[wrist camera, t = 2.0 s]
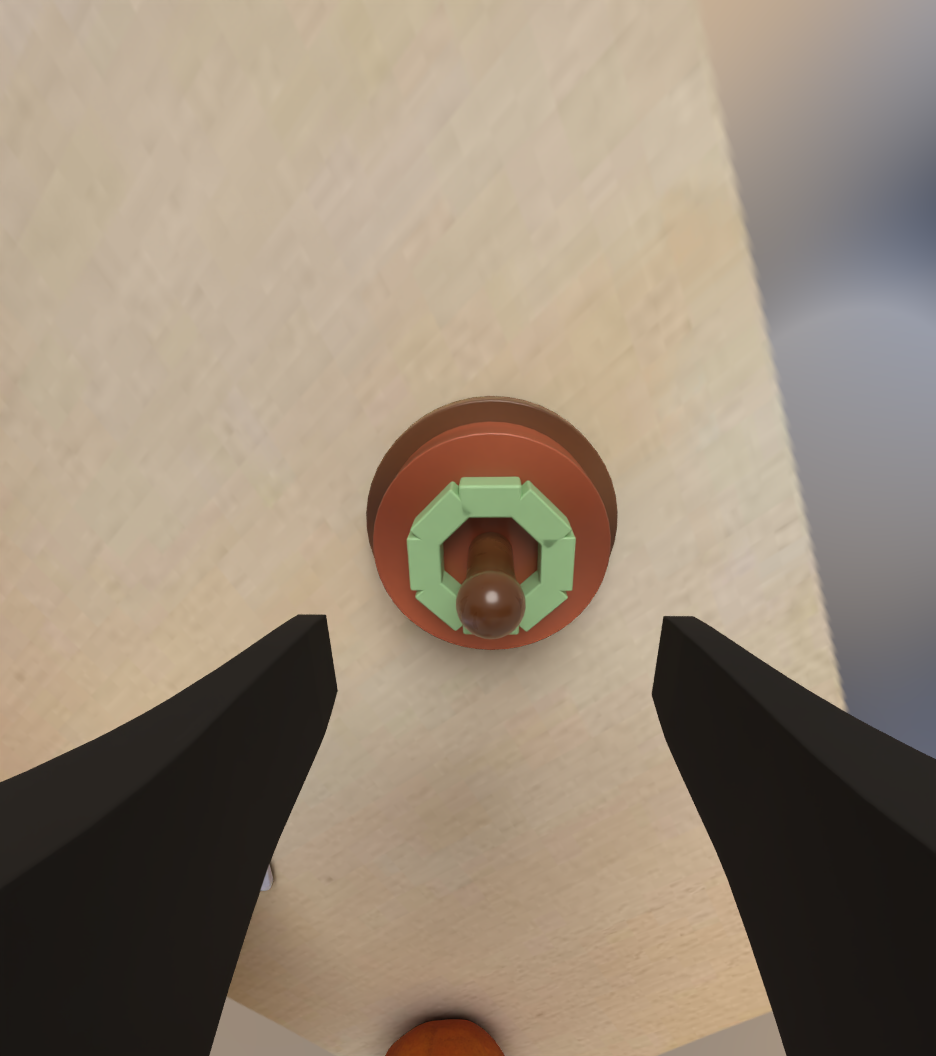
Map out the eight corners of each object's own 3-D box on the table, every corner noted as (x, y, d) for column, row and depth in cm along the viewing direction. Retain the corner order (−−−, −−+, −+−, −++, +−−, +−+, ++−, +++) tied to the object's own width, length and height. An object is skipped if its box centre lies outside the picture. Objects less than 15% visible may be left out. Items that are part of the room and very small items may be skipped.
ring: (564, 619, 16) (569, 636, 15) (417, 618, 16) (413, 635, 15) (574, 475, 14) (579, 484, 13) (407, 476, 14) (402, 486, 14)
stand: (600, 620, 20) (657, 765, 13) (383, 619, 20) (330, 759, 13) (622, 393, 16) (713, 433, 10) (360, 398, 17) (275, 439, 10)
